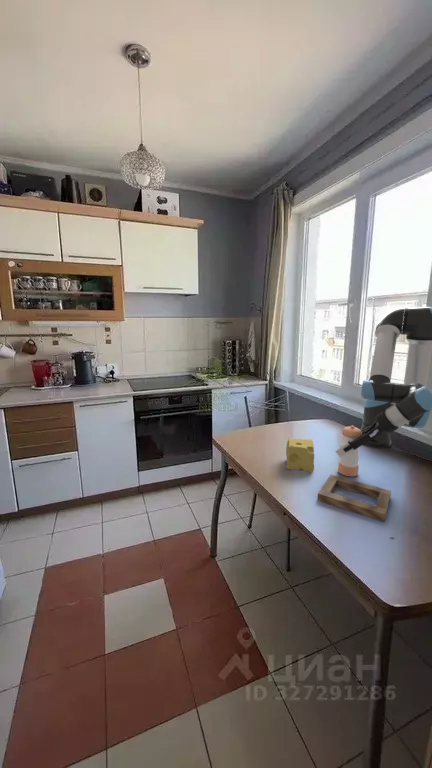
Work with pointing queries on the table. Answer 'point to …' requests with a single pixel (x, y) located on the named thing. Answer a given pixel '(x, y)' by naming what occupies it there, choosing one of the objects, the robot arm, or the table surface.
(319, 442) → the table surface
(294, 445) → the cheese
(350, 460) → the salt shaker
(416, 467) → the table surface
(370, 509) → the rail frame
